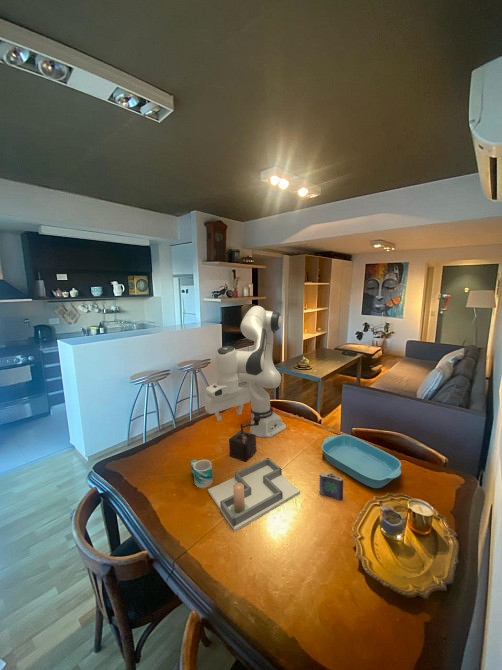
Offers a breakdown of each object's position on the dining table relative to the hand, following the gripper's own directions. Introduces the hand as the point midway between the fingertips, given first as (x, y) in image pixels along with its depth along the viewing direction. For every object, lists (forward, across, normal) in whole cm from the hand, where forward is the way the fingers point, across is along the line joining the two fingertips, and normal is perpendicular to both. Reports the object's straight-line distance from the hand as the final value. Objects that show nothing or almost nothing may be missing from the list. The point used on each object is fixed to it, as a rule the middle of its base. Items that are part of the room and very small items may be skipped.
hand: (229, 417), depth 115 cm
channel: (+31, -4, +10) cm, 33 cm away
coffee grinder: (+31, -17, -16) cm, 39 cm away
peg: (+30, +6, +16) cm, 34 cm away
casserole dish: (+32, -53, +25) cm, 67 cm away
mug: (+31, +11, -10) cm, 35 cm away
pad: (+30, +6, +16) cm, 34 cm away
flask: (+31, -29, +30) cm, 52 cm away
